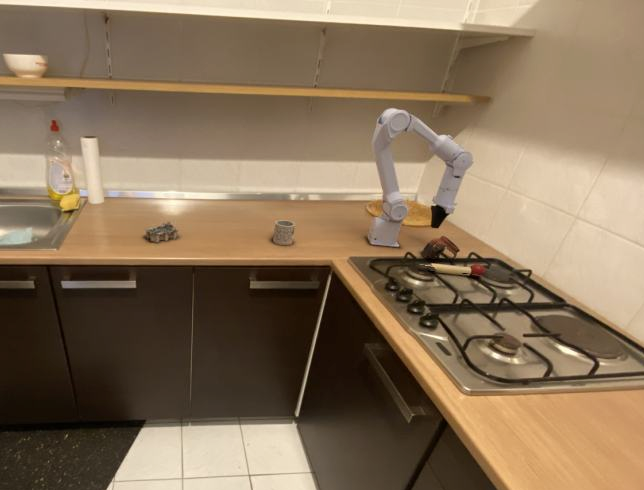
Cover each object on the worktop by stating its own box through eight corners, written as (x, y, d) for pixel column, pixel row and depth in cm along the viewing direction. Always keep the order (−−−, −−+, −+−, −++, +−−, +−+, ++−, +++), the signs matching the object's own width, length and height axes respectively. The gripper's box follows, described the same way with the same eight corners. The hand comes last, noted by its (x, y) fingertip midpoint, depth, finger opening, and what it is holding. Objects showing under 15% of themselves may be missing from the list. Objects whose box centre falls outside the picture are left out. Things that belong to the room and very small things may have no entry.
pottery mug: (421, 250, 134) (442, 232, 129) (443, 269, 131) (464, 252, 126) (414, 251, 125) (436, 232, 120) (437, 272, 121) (460, 253, 117)
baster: (419, 273, 117) (424, 263, 115) (417, 265, 120) (422, 255, 117) (482, 280, 115) (489, 270, 112) (478, 271, 118) (485, 262, 115)
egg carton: (170, 231, 139) (170, 220, 137) (180, 238, 134) (180, 227, 132) (143, 236, 134) (143, 224, 132) (152, 243, 129) (152, 231, 127)
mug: (294, 244, 133) (297, 226, 129) (276, 245, 132) (279, 226, 128) (284, 234, 141) (287, 216, 138) (267, 234, 140) (269, 217, 137)
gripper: (470, 195, 120) (454, 236, 126) (453, 184, 132) (439, 222, 139) (446, 193, 121) (431, 233, 127) (431, 182, 133) (419, 220, 140)
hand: (434, 227), depth 133 cm, fingers closed
